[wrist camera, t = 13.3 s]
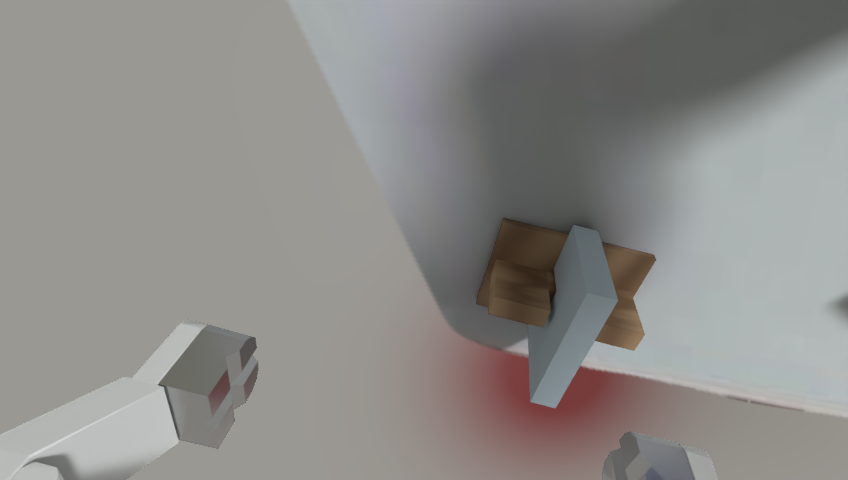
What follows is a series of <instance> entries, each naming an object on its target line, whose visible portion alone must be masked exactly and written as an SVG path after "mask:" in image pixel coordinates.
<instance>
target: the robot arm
mask: <svg viewBox="0 0 848 480" xmlns="http://www.w3.org/2000/svg"><path fill="white" fill-rule="evenodd" d="M256 348H257V346H256V338H255V337H251V336H248V335H244V334H240V333H237V332H233V331H230V330H226V329H222V328H219V327H215V326H212V325H208V324H204V323H201V322H197V321H193V320H189V319H187V320H185V321H184V322H182V323H180V324H179V325H178V326H177V327H176V328H175V329H174V331H173V332H172V333H171V334H170V335H169V336H168V337H167V339H166V340H165V341H164V342H163V343H162V344H161V345H160V347H158V349H157V350H156V351H155V352H154V353H153V354H152V355H151V357H150V358H149V359H148V360H147V361H146V362H145V363H144V364H143V365H142V367H141V368H140V369H139V370H138V371H137V372H136V373H135V374H134V376H133V377H132V378H129V377H122V378H120V379H118V380H116V381H114V382H112V383H110V384H107V385H105V386H103V387H101V388H99V389H97V390H95V391H93V392H90V393H88V394H86V395H84V396H82V397H80V398H78V399H76V400H73V401H71V402H69V403H67V404H65V405H63V406H61V407H58V408H56V409H55V410H52V411H50V412H48V413H46V414H44V415H41V416H39V417H37V418H35V419H33V420H31V421H29V422H27V423H24V424H22V425H20V426H18V427H16V428H14V429H12V430H9V431H7V432H5V433H3V434H1V435H0V480H126V479H128V478H129V477H131V476H132V475H134V474H135V473H136V472H138V471H139V470H141V469H142V468H143V467H145V466H146V465H148V464H149V463H150V462H152V461H153V460H154V459H156V458H157V457H159V456H160V455H162V454H163V453H164V452H166V451H167V450H169V449H170V448H171V447H173V446H174V445H176V444H177V443H178V442H179V440H182V441H186V442H191V443H195V444H200V445H204V446H208V447H212V448H216V449H218V448H219V447H220V445H221V443H222V441H223V440H224V438H225V437H226V435H227V433H228V431H229V430H230V428H231V426H232V425H233V423H234V421H235V418H234V409H236V408H237V407H239V406H241V405H242V404H244V403H246V401H247V399H248V397H249V396H250V394H251V392H252V390H253V387H254V385H255V382H256V379H257V374H258V361H257V360H256V358H255V357H254V356H253V353H254V351H255V350H256ZM620 445H621V448H620V449H617V450H614V451H611V452H610V454H609V455H608V457H607V458H606V460H605V463H604V467H603V472H602V480H718V477H717V474H716V472H715V469H714V466H713V464H712V461H711V459H710V456H709V455H708V454H707V453H706V451H705V450H702V449H699V448H694V447H690V446H686V445H681V444H677V443H676V442H672V441H668V440H664V439H660V438H655V437H651V436H647V435H643V434H639V433H634V432H627V433H625V434H624V435H623V436H622V438H621V439H620Z"/></svg>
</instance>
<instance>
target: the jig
mask: <svg viewBox="0 0 848 480" xmlns="http://www.w3.org/2000/svg"><path fill="white" fill-rule="evenodd" d="M568 236H569V234H566V233H562V232H557V231H553V230H549V229H545V228H541V227H537V226H533V225H529V224H524V223H520V222H516V221H512V220H508V219H503V222H502V225H501V228H500V231H499V234H498V237H497V240H496V243H495V246H494V249H493V252H492V255H491V258H490V261H489V264H488V267H487V270H486V273H485V276H484V279H483V282H482V285H481V288H480V291H479V294H478V297H477V301H476V304H478V305H482V306H486V307H489V308H488V314H490V315H494V316H498V317H502V318H506V319H510V320H514V321H518V322H522V323H526V324H530V325H534V326H538V327H542V328H543V327H544V324H545V322H546V320H547V318H548V316H549V314H550V312H551V308H550V304H551V302H552V300H553V298H554V296H555V293H556V291H557V290H556V282H555V274H554V267H555V265H556V263H557V260H558V258H559V256H560V254H561V251H562V249H563V247H564V245H565V242H566V240H567V238H568ZM602 246H603V249H604V253H605V256H606V260H607V263H608V267H609V270H610V274H611V277H612V281H613V284H614V288H615V291H616V295H617V298H618V302H617V303H616V305H615V307H614V308H613V310H612V312H611V314H610V315H609V317H608V319H607V320H606V322H605V324H604V326H603V327H602V329H601V331H600V332H599V334H598V336H597V338H596V339H595V341H598V342H602V343H606V344H610V345H614V346H618V347H622V348H626V349H630V350H635V348H636V347H637V345H638V344H639V342H640V341H641V339H642V338H643V336H644V335H645V334H644V331H643V328H642V325H641V322H640V319H639V316H638V313H637V310H636V307H635V303H634V300H633V297H634V295H635V293H636V292H637V290H638V289H639V287H640V285H641V284H642V282H643V280H644V279H645V277H646V275H647V274H648V272H649V270H650V269H651V267H652V265H653V264H654V262H655V261H656V259H655V256H654V255H652V254H648V253H644V252H640V251H636V250H632V249H627V248H623V247H619V246H615V245H611V244H607V243H603V242H602Z"/></svg>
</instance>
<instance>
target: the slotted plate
mask: <svg viewBox="0 0 848 480" xmlns="http://www.w3.org/2000/svg"><path fill="white" fill-rule="evenodd" d="M554 274H555V282H556V290H557V291H556V293H555V296H554V298H553V300H552V302H551V304H550V308H551V312H550V314H549V316H548V318H547V320H546V322H545V324H544V327H543V328H542V327H538V326H534V325H530V324H529V325H528V347H529V375H530V402H533V403H537V404H541V405H545V406H549V407H553V408H556V406H557V404H558V403H559V401H560V399H561V398H562V396H563V394H564V392H565V390H566V389H567V387H568V385H569V384H570V382H571V380H572V378H573V377H574V375H575V373H576V372H577V370H578V368H579V367H580V365H581V363H582V362H583V360H584V358H585V356H586V355H587V353H588V351H589V350H590V348H591V346H592V344H593V343H594V341H595V339H596V338H597V336H598V334H599V332H600V331H601V329H602V327H603V326H604V324H605V322H606V320H607V319H608V317H609V315H610V314H611V312H612V310H613V308H614V307H615V305H616V303H617V302H618V298H617V295H616V291H615V288H614V284H613V281H612V277H611V274H610V270H609V267H608V263H607V260H606V256H605V253H604V249H603V246H602V242H601V239H600V235H599V232H598V231H597V230H593V229H588V228H584V227H580V226H576V225H573V227H572V229H571V231H570V233H569V236H568V238H567V240H566V242H565V245H564V247H563V249H562V251H561V254H560V256H559V258H558V260H557V263H556V265H555V267H554Z"/></svg>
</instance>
